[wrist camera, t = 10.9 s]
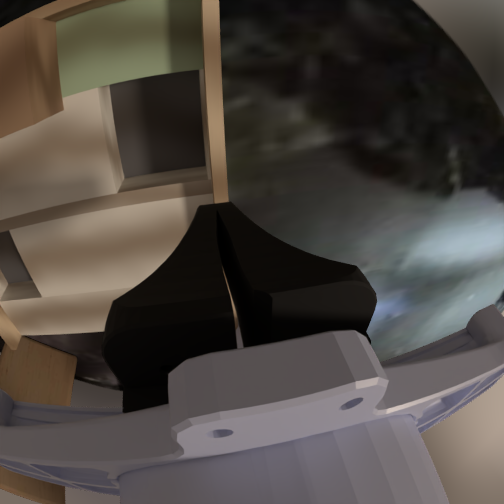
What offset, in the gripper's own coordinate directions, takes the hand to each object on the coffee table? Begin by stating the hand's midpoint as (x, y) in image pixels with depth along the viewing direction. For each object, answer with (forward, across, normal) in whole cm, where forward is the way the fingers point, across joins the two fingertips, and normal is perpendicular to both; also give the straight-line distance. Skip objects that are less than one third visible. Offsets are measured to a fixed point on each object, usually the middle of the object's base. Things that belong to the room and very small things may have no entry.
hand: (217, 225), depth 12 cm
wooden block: (+11, +26, +23) cm, 36 cm away
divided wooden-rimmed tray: (+10, +11, +1) cm, 15 cm away
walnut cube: (+7, +11, -8) cm, 16 cm away
